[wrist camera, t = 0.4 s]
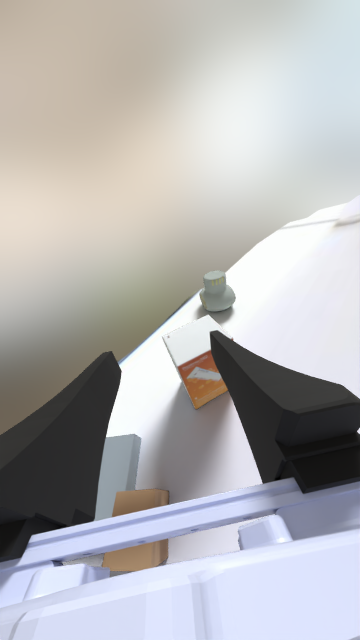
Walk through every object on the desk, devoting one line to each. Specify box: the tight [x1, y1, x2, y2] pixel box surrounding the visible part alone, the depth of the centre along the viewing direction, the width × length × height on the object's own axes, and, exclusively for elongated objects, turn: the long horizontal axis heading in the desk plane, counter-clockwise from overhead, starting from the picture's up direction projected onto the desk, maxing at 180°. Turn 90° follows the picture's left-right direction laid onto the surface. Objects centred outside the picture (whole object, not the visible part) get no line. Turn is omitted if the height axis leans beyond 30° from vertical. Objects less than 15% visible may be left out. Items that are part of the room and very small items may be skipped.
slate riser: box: [93, 434, 141, 522], centre depth 21 cm, size 8×8×3 cm
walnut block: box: [102, 489, 169, 571], centre depth 16 cm, size 4×4×5 cm
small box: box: [162, 315, 233, 409], centre depth 24 cm, size 8×6×13 cm
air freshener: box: [200, 271, 235, 311], centre depth 43 cm, size 11×8×10 cm
